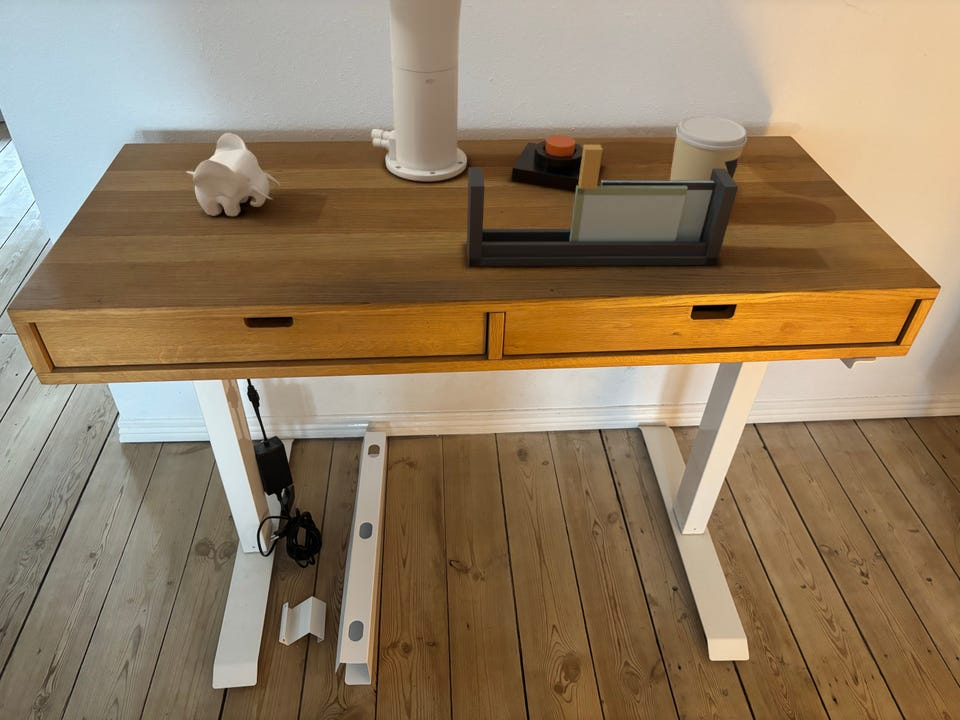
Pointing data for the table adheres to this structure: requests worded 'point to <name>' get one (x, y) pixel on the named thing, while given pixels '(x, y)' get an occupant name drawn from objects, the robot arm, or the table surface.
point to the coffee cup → (706, 147)
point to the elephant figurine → (230, 178)
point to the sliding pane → (622, 208)
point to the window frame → (551, 247)
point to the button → (560, 145)
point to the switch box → (548, 167)
